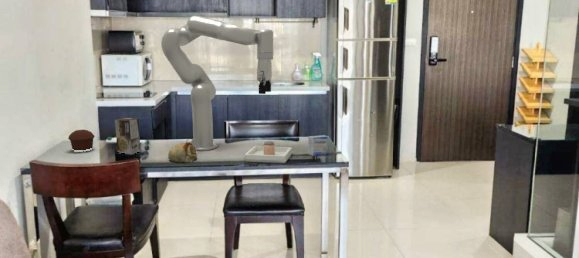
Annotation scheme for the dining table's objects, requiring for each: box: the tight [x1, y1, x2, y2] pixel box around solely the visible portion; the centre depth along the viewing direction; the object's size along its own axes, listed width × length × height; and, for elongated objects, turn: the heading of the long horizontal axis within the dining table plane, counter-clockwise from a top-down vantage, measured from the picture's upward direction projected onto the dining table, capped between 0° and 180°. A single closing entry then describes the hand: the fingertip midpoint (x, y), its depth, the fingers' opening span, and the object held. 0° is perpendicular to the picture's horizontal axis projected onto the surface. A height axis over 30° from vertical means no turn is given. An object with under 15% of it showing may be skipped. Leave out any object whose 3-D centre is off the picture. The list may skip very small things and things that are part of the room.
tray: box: [243, 145, 293, 164], centre depth 227 cm, size 18×18×3 cm
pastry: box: [168, 142, 198, 164], centre depth 223 cm, size 14×12×8 cm
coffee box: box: [114, 117, 141, 155], centre depth 236 cm, size 9×6×16 cm
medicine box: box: [308, 134, 329, 157], centre depth 233 cm, size 8×4×9 cm, turn 117°
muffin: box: [67, 129, 96, 150], centre depth 241 cm, size 12×11×10 cm
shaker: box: [263, 140, 276, 155], centre depth 227 cm, size 5×5×6 cm
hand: (264, 92), depth 240 cm, fingers open, 9 cm apart
